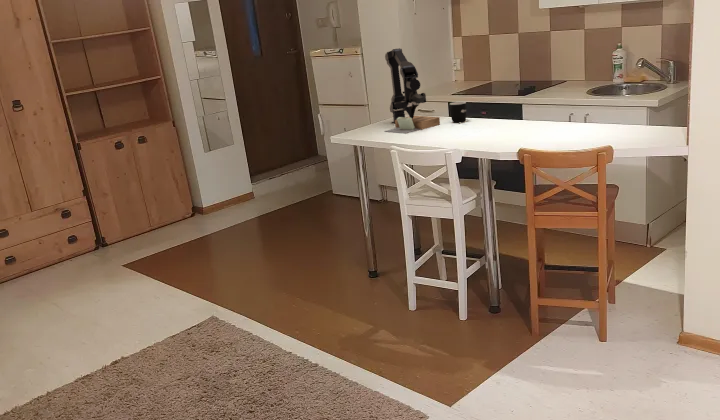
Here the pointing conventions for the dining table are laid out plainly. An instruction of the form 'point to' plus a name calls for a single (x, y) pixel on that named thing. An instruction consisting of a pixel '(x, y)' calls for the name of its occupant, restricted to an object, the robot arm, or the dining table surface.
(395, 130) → the mat
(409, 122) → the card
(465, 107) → the mug
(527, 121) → the dining table surface
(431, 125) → the brown wooden flat block
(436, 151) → the dining table surface
